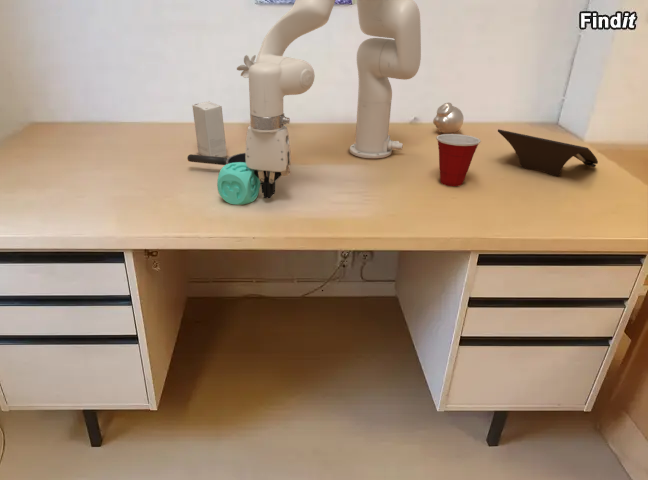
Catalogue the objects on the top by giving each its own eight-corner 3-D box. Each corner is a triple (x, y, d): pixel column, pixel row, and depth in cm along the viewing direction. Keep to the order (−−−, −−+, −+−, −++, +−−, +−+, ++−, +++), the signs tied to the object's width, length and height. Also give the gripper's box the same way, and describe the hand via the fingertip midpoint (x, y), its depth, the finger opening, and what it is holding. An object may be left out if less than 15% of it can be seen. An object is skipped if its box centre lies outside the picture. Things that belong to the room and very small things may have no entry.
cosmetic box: (227, 157, 162) (224, 106, 155) (209, 161, 160) (204, 109, 152) (214, 149, 168) (210, 100, 161) (196, 153, 166) (191, 103, 158)
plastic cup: (474, 177, 148) (482, 132, 141) (471, 192, 139) (480, 146, 133) (432, 172, 151) (438, 129, 144) (428, 187, 142) (434, 141, 136)
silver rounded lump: (430, 129, 184) (434, 98, 179) (459, 130, 183) (464, 99, 178) (432, 137, 177) (436, 105, 171) (463, 138, 175) (468, 106, 170)
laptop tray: (592, 190, 154) (606, 158, 152) (576, 176, 136) (591, 139, 134) (512, 170, 167) (523, 140, 166) (487, 155, 149) (500, 121, 147)
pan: (281, 170, 153) (281, 154, 151) (267, 188, 142) (266, 171, 140) (237, 165, 156) (236, 150, 154) (219, 183, 145) (218, 166, 143)
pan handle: (230, 164, 150) (229, 156, 149) (227, 166, 149) (226, 159, 148) (189, 160, 153) (188, 153, 152) (186, 162, 151) (185, 155, 150)
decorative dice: (232, 190, 141) (230, 160, 137) (261, 194, 139) (260, 164, 134) (218, 202, 135) (215, 171, 131) (247, 207, 132) (246, 175, 128)
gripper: (302, 119, 126) (302, 193, 136) (241, 114, 130) (244, 187, 139) (294, 128, 120) (294, 205, 130) (230, 123, 124) (234, 199, 133)
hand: (268, 196), depth 135 cm, fingers closed
